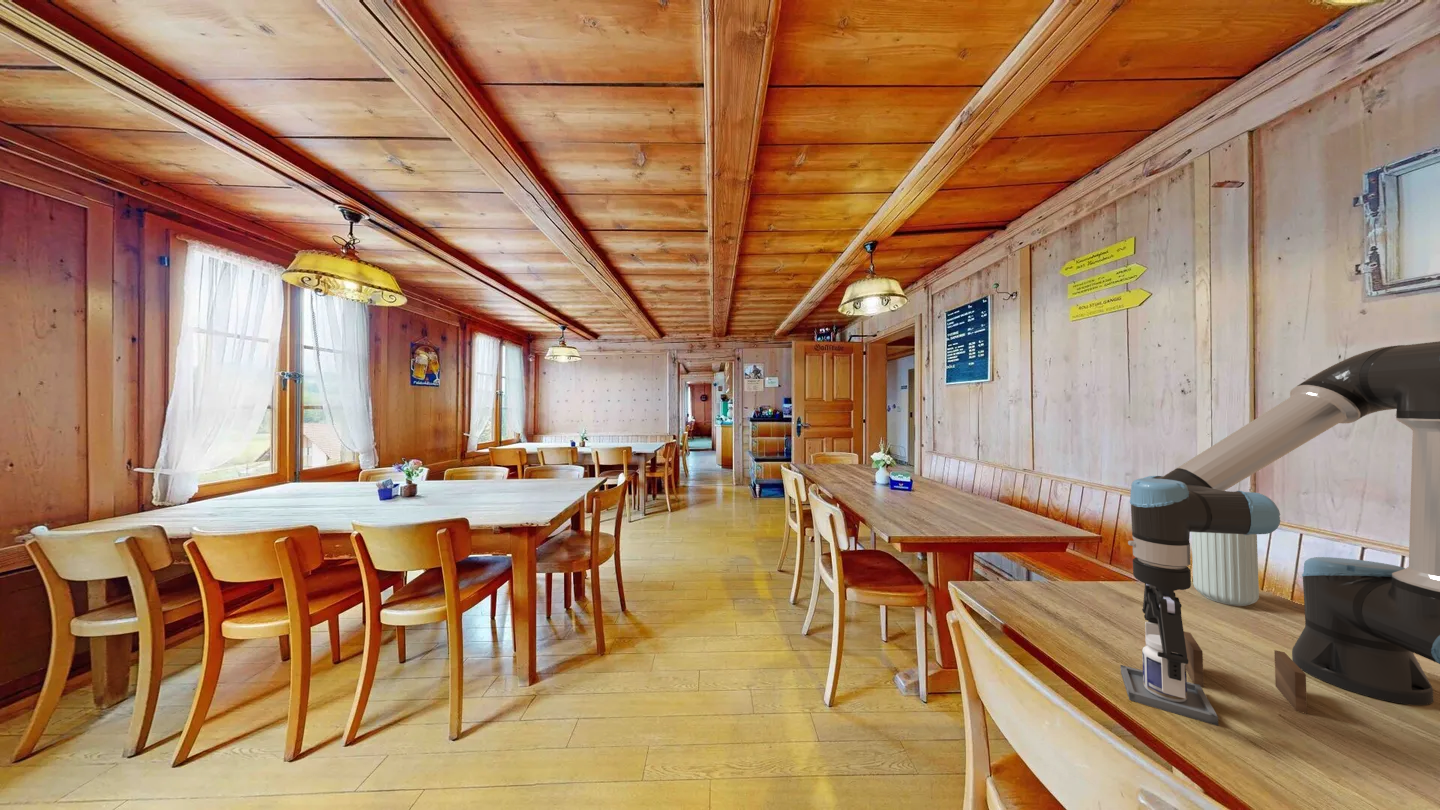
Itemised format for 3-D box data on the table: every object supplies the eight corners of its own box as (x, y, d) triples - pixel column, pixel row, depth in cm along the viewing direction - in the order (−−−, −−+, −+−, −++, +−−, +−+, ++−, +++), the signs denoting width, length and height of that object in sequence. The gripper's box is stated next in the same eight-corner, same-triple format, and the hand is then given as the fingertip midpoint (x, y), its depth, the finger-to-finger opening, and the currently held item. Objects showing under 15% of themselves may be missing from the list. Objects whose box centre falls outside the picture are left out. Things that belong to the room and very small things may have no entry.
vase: (1269, 613, 107) (1266, 526, 107) (1203, 603, 113) (1200, 521, 113) (1246, 595, 116) (1243, 516, 116) (1186, 587, 123) (1184, 511, 123)
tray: (1200, 692, 80) (1199, 684, 80) (1218, 725, 72) (1218, 717, 72) (1120, 672, 86) (1120, 664, 86) (1129, 700, 78) (1129, 692, 78)
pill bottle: (1196, 705, 76) (1195, 650, 76) (1159, 702, 77) (1157, 647, 77) (1169, 684, 81) (1167, 633, 81) (1135, 681, 82) (1133, 631, 82)
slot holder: (1285, 688, 80) (1284, 652, 80) (1307, 714, 74) (1305, 674, 74) (1183, 664, 88) (1181, 631, 88) (1194, 685, 82) (1193, 649, 82)
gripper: (1122, 540, 91) (1125, 637, 91) (1146, 580, 71) (1150, 704, 71) (1172, 546, 87) (1175, 648, 87) (1212, 591, 67) (1217, 724, 67)
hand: (1164, 674), depth 79 cm, fingers open, 13 cm apart
